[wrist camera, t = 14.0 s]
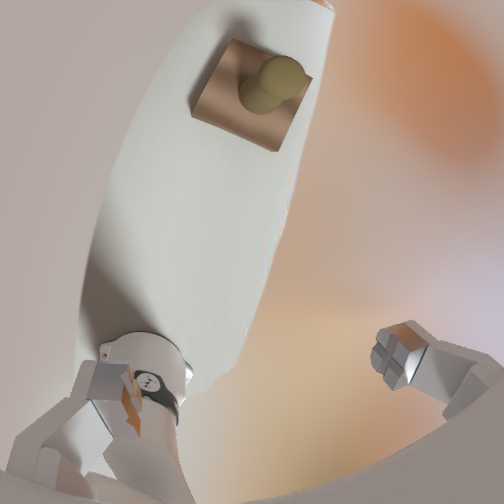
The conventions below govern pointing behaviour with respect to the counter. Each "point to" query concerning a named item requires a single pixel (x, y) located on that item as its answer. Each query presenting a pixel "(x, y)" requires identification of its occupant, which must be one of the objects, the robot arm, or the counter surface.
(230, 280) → the counter surface
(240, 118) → the walnut base
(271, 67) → the olive pawn
